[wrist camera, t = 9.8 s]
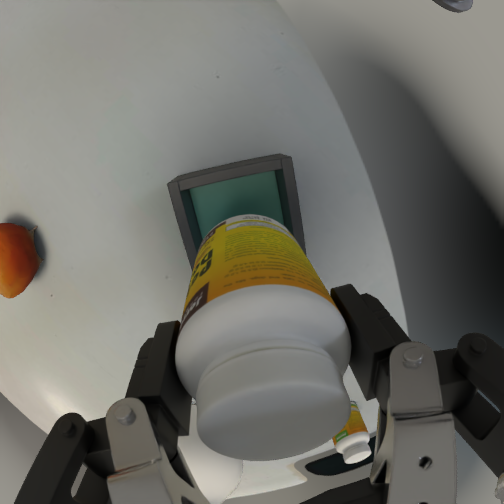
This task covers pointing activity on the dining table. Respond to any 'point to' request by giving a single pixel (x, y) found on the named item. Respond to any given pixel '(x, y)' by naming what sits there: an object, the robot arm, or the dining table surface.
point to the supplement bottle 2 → (353, 438)
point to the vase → (209, 465)
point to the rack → (236, 197)
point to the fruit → (17, 259)
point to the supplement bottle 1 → (262, 345)
